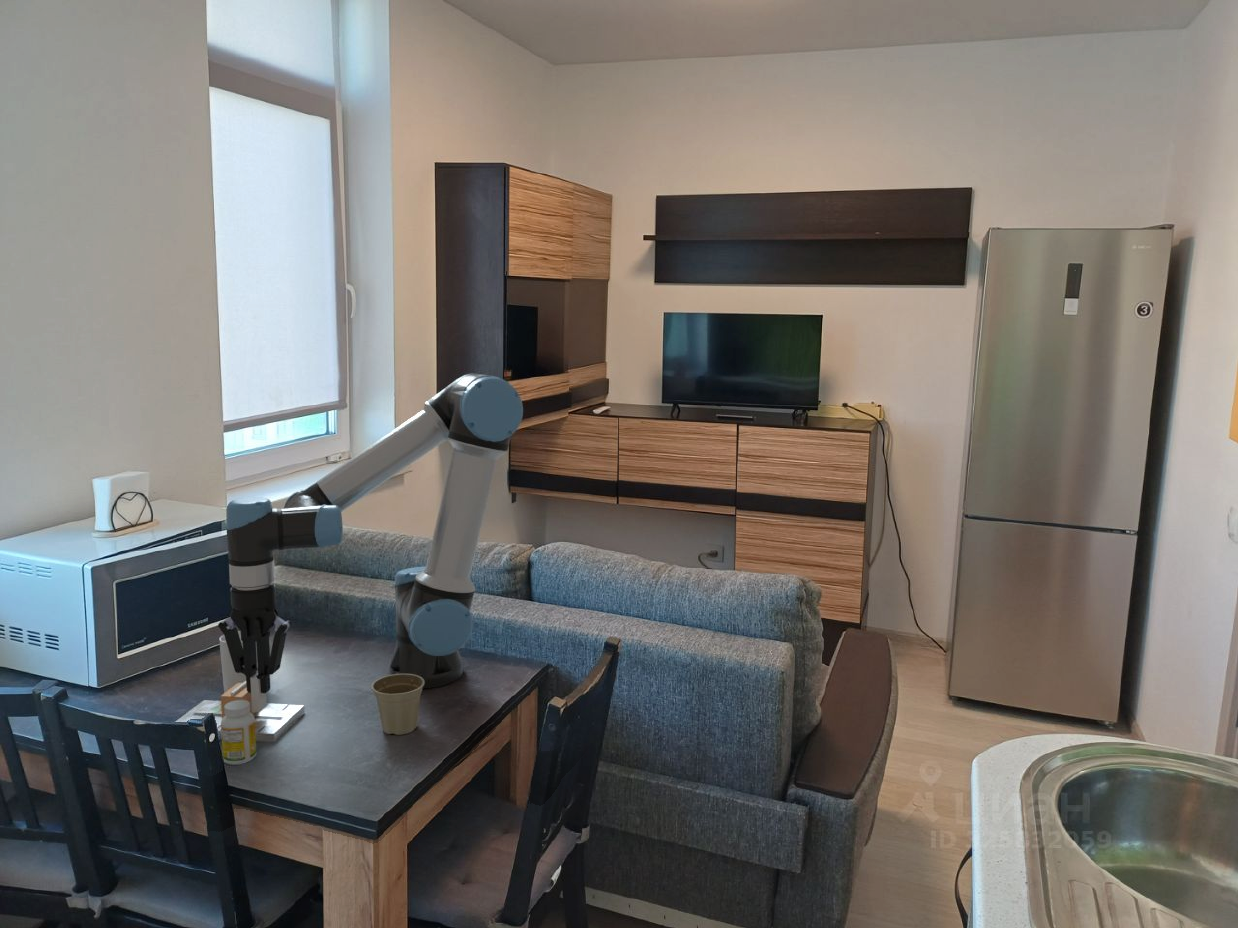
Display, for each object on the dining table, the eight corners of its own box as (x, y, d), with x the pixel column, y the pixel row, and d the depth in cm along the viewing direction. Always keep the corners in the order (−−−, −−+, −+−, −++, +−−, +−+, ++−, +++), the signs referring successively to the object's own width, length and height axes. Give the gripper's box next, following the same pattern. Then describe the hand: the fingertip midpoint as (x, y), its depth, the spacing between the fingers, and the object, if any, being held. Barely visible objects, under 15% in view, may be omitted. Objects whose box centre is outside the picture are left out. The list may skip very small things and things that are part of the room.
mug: (225, 703, 177) (221, 644, 175) (220, 691, 183) (216, 634, 181) (280, 693, 182) (276, 635, 180) (273, 681, 188) (270, 625, 186)
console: (304, 713, 173) (304, 704, 173) (274, 742, 161) (273, 733, 161) (204, 707, 175) (204, 699, 175) (167, 736, 163) (166, 727, 163)
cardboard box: (259, 709, 170) (258, 680, 170) (243, 723, 165) (241, 693, 164) (239, 708, 171) (237, 679, 170) (222, 722, 165) (220, 692, 164)
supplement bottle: (232, 768, 152) (229, 714, 150) (217, 758, 155) (213, 705, 154) (263, 757, 156) (259, 703, 154) (247, 747, 159) (243, 695, 158)
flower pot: (399, 744, 161) (397, 698, 159) (361, 731, 166) (360, 686, 164) (436, 724, 168) (435, 680, 167) (399, 712, 173) (398, 669, 172)
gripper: (297, 579, 166) (302, 702, 170) (229, 577, 168) (236, 698, 171) (277, 591, 159) (284, 719, 163) (206, 588, 160) (214, 715, 164)
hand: (259, 708), depth 167 cm, fingers closed
